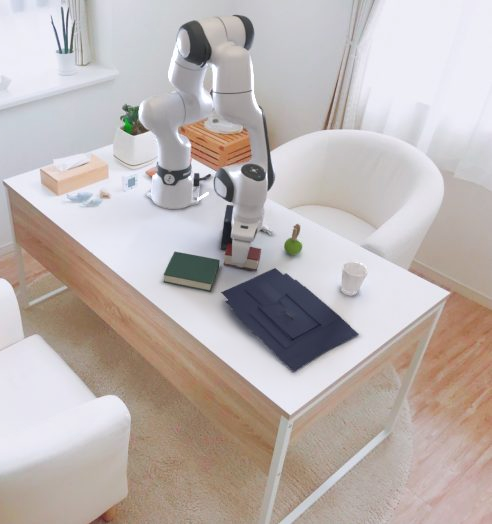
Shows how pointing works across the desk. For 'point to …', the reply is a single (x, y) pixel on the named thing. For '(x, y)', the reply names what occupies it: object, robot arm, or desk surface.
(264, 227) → the stylus pen
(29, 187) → the desk surface
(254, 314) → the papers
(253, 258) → the pocket dictionary
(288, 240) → the snail figurine
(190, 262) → the hardcover book
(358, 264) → the cup
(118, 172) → the desk surface
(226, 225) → the small box
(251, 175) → the robot arm
